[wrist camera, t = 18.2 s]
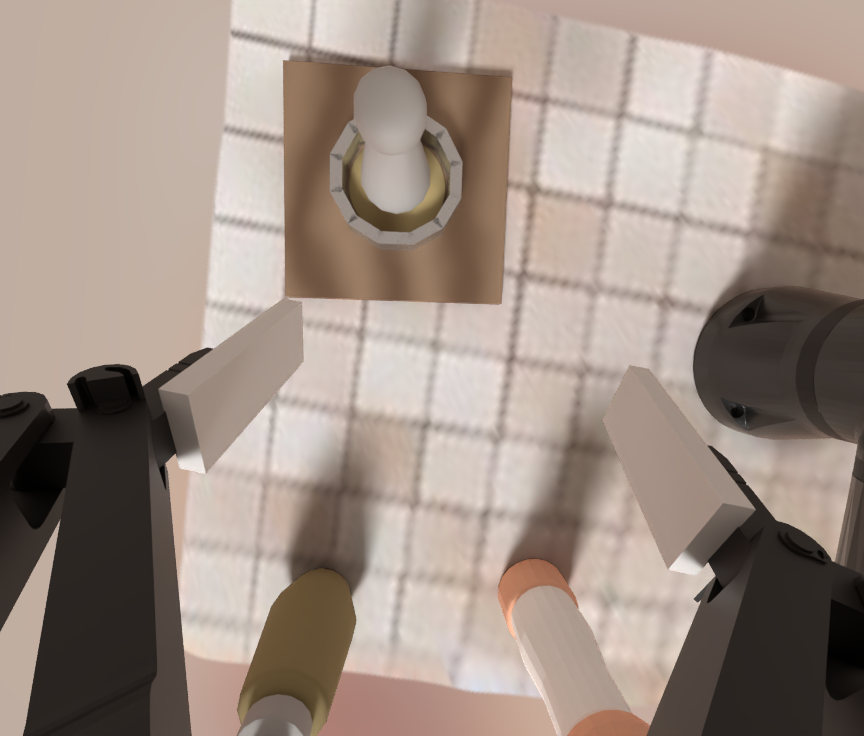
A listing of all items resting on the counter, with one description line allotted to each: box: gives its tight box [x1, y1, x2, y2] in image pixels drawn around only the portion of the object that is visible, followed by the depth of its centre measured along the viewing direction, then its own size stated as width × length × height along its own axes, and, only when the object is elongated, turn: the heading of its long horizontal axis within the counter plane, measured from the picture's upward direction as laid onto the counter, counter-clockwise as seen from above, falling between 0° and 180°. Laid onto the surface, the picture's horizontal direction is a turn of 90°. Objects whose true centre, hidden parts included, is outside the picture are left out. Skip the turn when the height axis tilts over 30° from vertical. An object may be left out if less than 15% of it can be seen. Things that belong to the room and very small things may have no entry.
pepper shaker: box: [498, 559, 650, 736], centre depth 30 cm, size 7×7×19 cm
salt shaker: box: [354, 65, 430, 214], centre depth 27 cm, size 6×6×13 cm
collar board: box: [283, 60, 512, 304], centre depth 33 cm, size 20×20×4 cm
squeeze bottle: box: [237, 568, 356, 736], centre depth 29 cm, size 8×8×18 cm
